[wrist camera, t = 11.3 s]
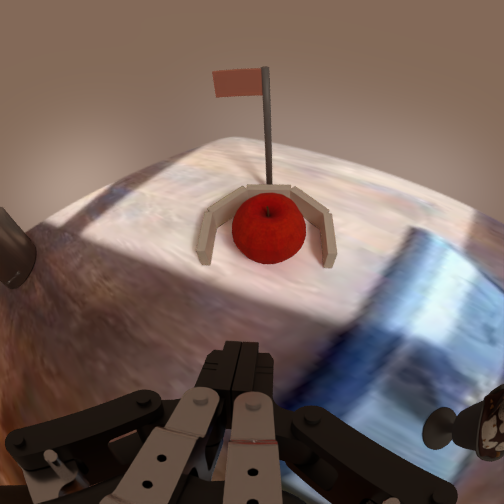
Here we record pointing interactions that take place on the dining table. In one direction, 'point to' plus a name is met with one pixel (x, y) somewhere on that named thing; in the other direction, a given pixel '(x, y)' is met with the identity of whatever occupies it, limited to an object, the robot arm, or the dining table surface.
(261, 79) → the cup
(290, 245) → the apple
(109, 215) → the dining table surface
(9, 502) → the pillar candle
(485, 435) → the sundae
